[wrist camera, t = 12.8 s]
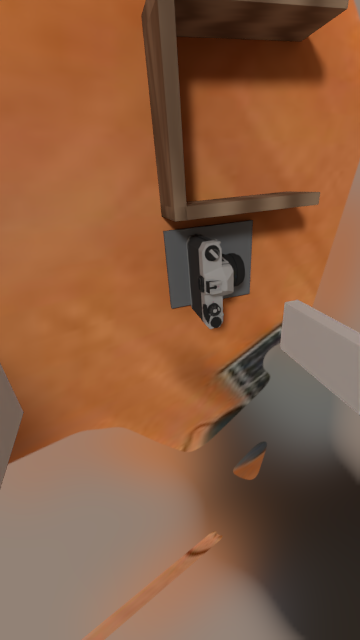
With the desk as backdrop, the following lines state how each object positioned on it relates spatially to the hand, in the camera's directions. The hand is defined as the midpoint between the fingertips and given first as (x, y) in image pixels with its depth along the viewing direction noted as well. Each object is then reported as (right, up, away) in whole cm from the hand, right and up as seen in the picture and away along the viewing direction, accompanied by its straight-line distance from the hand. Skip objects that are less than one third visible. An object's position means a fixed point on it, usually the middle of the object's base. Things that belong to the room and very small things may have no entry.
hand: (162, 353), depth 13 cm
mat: (+6, +10, +30) cm, 32 cm away
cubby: (+7, +27, +23) cm, 36 cm away
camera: (+5, +9, +30) cm, 32 cm away
